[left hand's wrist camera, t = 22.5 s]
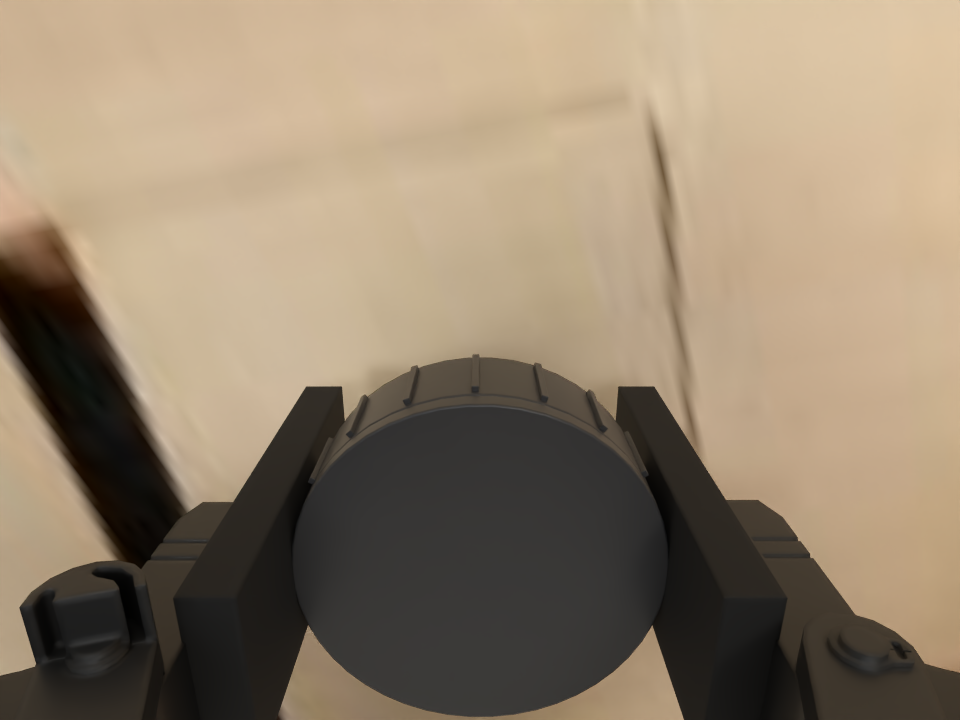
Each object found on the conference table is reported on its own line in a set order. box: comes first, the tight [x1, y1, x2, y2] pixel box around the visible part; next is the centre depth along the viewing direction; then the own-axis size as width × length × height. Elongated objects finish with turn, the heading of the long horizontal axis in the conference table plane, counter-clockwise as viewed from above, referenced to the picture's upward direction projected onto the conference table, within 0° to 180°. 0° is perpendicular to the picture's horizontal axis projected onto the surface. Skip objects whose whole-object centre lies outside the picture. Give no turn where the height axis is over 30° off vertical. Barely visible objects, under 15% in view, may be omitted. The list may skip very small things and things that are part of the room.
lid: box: [292, 354, 669, 717], centre depth 11 cm, size 6×6×2 cm
